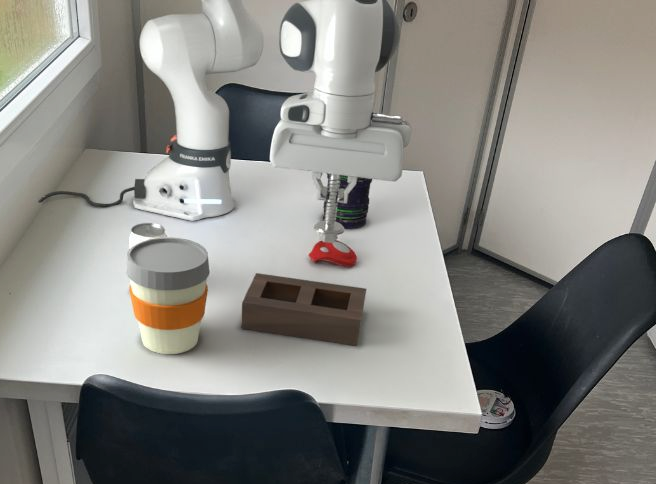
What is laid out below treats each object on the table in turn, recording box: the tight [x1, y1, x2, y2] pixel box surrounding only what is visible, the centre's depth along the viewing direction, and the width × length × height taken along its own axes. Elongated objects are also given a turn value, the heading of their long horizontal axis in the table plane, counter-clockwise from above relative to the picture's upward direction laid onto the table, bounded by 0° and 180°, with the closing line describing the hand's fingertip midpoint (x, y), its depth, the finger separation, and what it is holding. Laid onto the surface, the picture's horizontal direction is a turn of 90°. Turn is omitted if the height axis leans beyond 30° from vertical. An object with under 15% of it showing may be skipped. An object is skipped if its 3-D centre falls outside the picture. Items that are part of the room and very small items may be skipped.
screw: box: [313, 174, 345, 243], centre depth 114 cm, size 13×5×5 cm
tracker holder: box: [308, 236, 358, 267], centre depth 145 cm, size 12×4×10 cm
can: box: [129, 222, 168, 249], centre depth 127 cm, size 6×6×12 cm
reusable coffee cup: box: [125, 236, 210, 355], centre depth 113 cm, size 13×13×15 cm
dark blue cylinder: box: [322, 173, 373, 230], centre depth 157 cm, size 10×10×18 cm
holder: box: [240, 272, 367, 347], centre depth 124 cm, size 11×20×5 cm, turn 79°
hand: (332, 200), depth 114 cm, fingers closed on screw, 2 cm apart
